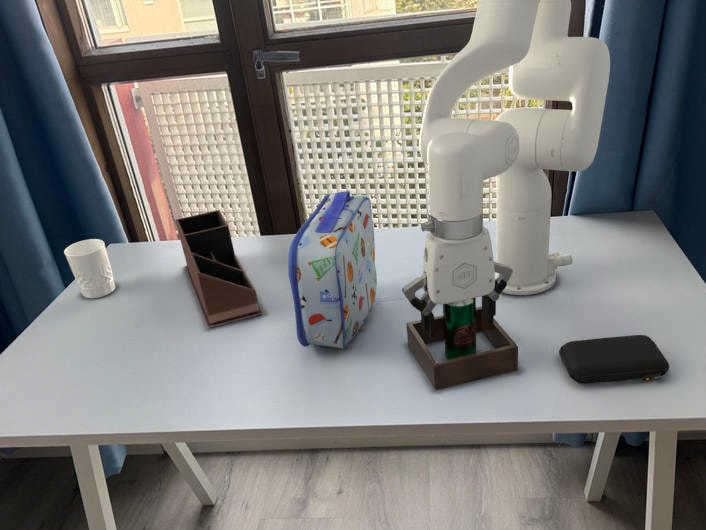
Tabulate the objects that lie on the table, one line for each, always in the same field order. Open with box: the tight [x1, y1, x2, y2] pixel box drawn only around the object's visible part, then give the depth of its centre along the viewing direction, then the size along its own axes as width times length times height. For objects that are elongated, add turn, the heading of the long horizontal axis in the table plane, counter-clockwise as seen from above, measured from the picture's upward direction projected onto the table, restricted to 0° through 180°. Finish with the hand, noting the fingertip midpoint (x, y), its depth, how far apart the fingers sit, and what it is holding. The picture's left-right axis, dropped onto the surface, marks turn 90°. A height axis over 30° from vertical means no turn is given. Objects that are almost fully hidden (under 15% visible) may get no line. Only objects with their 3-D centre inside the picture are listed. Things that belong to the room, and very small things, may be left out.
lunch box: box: [287, 190, 378, 349], centre depth 121 cm, size 28×10×22 cm, turn 168°
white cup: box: [63, 238, 116, 299], centre depth 144 cm, size 8×8×10 cm
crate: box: [405, 305, 519, 391], centre depth 112 cm, size 14×14×4 cm
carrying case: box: [558, 334, 670, 385], centre depth 106 cm, size 11×3×15 cm
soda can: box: [442, 297, 478, 360], centre depth 110 cm, size 5×5×12 cm
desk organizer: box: [174, 209, 264, 329], centre depth 139 cm, size 10×29×11 cm, turn 21°
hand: (458, 326), depth 110 cm, fingers open, 9 cm apart
